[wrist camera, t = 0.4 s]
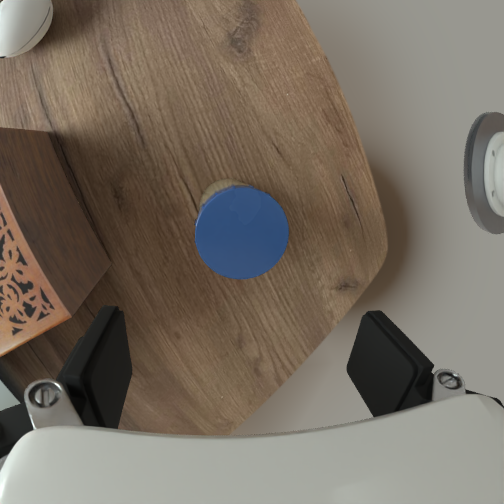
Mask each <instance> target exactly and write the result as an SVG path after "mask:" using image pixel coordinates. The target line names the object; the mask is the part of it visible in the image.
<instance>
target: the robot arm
mask: <svg viewBox="0 0 504 504" xmlns="http://www.w3.org/2000/svg"><path fill="white" fill-rule="evenodd" d="M484 186H485V192H486V196H487V200H488V202H489V205H490V207H491V209H492V210H493V212H494V213H496V214H497V215H499V216H502V217H504V132H497V133H496V134H494V135H493V137H492V138H491V139H490V142H489V144H488V146H487V150H486V154H485V160H484ZM433 367H434V364H433V363H432V362H431V361H430V360H429V359H428V358H427V357H426V356H425V355H424V354H423V353H422V352H421V351H420V350H419V349H418V348H417V346H416V345H415V344H413V342H412V341H411V340H410V339H409V338H408V337H407V336H406V335H405V334H404V333H403V332H402V331H401V330H400V329H399V328H398V327H397V326H396V325H395V324H394V323H393V322H392V321H391V320H390V319H389V318H388V317H387V316H386V315H385V314H384V313H383V312H382V311H380V310H378V311H368V312H367V313H366V314H365V315H363V317H362V319H361V323H360V326H359V329H358V333H357V336H356V339H355V342H354V346H353V349H352V352H351V355H350V358H349V361H348V364H347V373H348V375H349V377H350V378H351V380H352V382H353V383H354V385H355V387H356V388H357V390H358V392H359V393H360V395H361V397H362V398H363V400H364V402H365V403H366V405H367V407H368V408H369V410H370V412H371V413H372V415H373V417H374V418H369V419H365V420H360V421H355V422H350V423H345V424H340V425H334V426H328V427H322V428H315V429H308V430H300V431H292V432H281V433H271V434H270V433H269V434H256V435H255V434H254V435H226V436H205V435H178V434H161V433H149V432H138V431H130V430H121V429H118V425H119V421H120V417H121V413H122V409H123V405H124V401H125V398H126V394H127V390H128V387H129V383H130V380H131V376H132V364H131V358H130V352H129V346H128V340H127V333H126V326H125V318H124V312H123V311H120V310H119V308H118V306H107V305H103V306H102V308H101V309H100V311H99V312H98V314H97V316H96V317H95V319H94V320H93V322H92V324H91V325H90V327H89V329H88V330H87V332H86V334H85V335H84V337H81V338H80V339H79V340H78V342H77V343H76V345H75V347H74V348H73V350H72V352H71V354H70V355H69V357H68V359H67V361H66V362H65V364H64V366H63V368H62V369H61V371H60V373H59V375H58V377H57V379H56V380H54V379H50V378H44V379H39V380H36V381H34V382H32V383H31V384H30V385H29V386H28V387H27V389H26V390H25V393H24V399H25V402H23V403H21V404H18V405H15V406H13V407H10V408H7V409H4V410H2V411H0V504H504V406H503V405H502V403H501V401H500V400H498V399H497V398H493V397H489V396H486V395H482V394H479V393H476V392H472V391H469V390H466V389H465V382H464V380H463V378H462V377H461V376H460V375H459V374H458V373H456V372H454V371H452V370H449V369H439V370H437V371H436V372H435V373H434V374H433V373H432V372H431V371H432V369H433Z"/></svg>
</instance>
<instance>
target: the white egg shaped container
mask: <svg viewBox="0 0 504 504" xmlns="http://www.w3.org/2000/svg"><path fill="white" fill-rule="evenodd" d="M52 17H53V6H52V2H51V0H3V1H2V2H1V3H0V58H4V57H7V58H8V57H15V56H18V55H21V54H23V53H25V52H27V51H29V50H30V49H31V48H33V47H34V46H35V45H36V44H37V43H38V42H39V41H40V40H41V39H42V38H43V36H44V35H45V34H46V32H47V31H48V29H49V27H50V24H51V22H52ZM33 52H34V51H33ZM34 53H35V52H34Z"/></svg>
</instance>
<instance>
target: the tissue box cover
mask: <svg viewBox="0 0 504 504" xmlns="http://www.w3.org/2000/svg"><path fill="white" fill-rule="evenodd" d="M111 264H112V263H111V261H110V260H109V258H108V256H107V255H106V253H105V251H104V249H103V248H102V246H101V244H100V242H99V241H98V239H97V237H96V235H95V233H94V232H93V230H92V228H91V226H90V224H89V222H88V220H87V218H86V217H85V215H84V213H83V211H82V209H81V207H80V205H79V203H78V201H77V199H76V197H75V195H74V193H73V190H72V188H71V186H70V184H69V182H68V180H67V178H66V175H65V173H64V171H63V169H62V166H61V164H60V162H59V159H58V157H57V155H56V152H55V150H54V147H53V145H52V142H51V140H50V137H49V135H48V132H44V131H35V130H25V129H14V128H0V357H1V356H3V355H5V354H6V353H8V352H10V351H12V350H13V349H15V348H17V347H19V346H20V345H22V344H24V343H26V342H28V341H29V340H31V339H33V338H35V337H37V336H38V335H40V334H42V333H44V332H46V331H47V330H49V329H51V328H53V327H55V326H57V325H58V324H60V323H62V322H64V321H66V320H68V319H70V318H71V317H73V315H74V314H75V312H76V311H77V310H78V308H79V307H80V305H81V304H82V303H83V301H84V300H85V299H86V297H87V296H88V294H89V293H90V292H91V290H92V289H93V288H94V286H95V285H96V284H97V282H98V281H99V280H100V279H101V277H102V276H103V275H104V273H105V272H106V271H107V270H108V268H109V267H110V266H111Z"/></svg>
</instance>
